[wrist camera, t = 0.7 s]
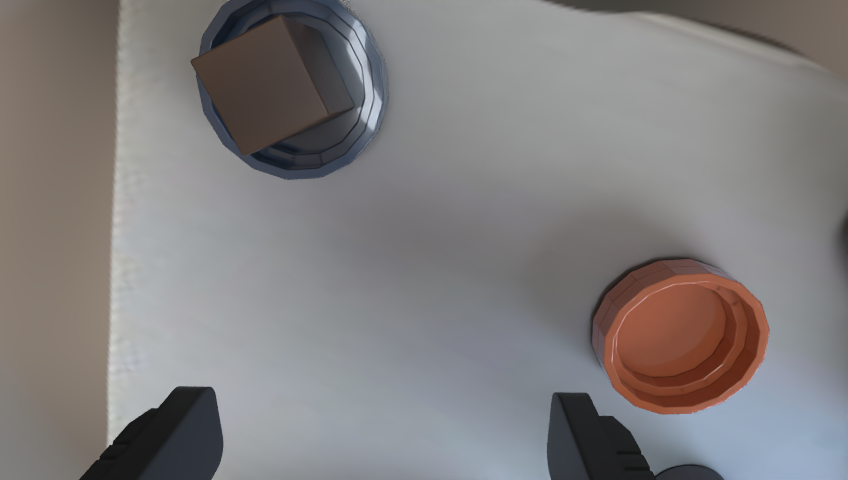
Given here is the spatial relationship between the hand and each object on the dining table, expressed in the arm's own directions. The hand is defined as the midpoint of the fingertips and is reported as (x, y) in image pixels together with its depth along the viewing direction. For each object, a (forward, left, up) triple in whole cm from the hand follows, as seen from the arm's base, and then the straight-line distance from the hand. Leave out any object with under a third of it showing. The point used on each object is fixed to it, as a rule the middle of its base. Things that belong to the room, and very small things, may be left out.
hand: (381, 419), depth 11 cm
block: (-8, -5, -16) cm, 18 cm away
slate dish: (-8, -5, -16) cm, 19 cm away
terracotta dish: (+7, +14, -16) cm, 23 cm away
